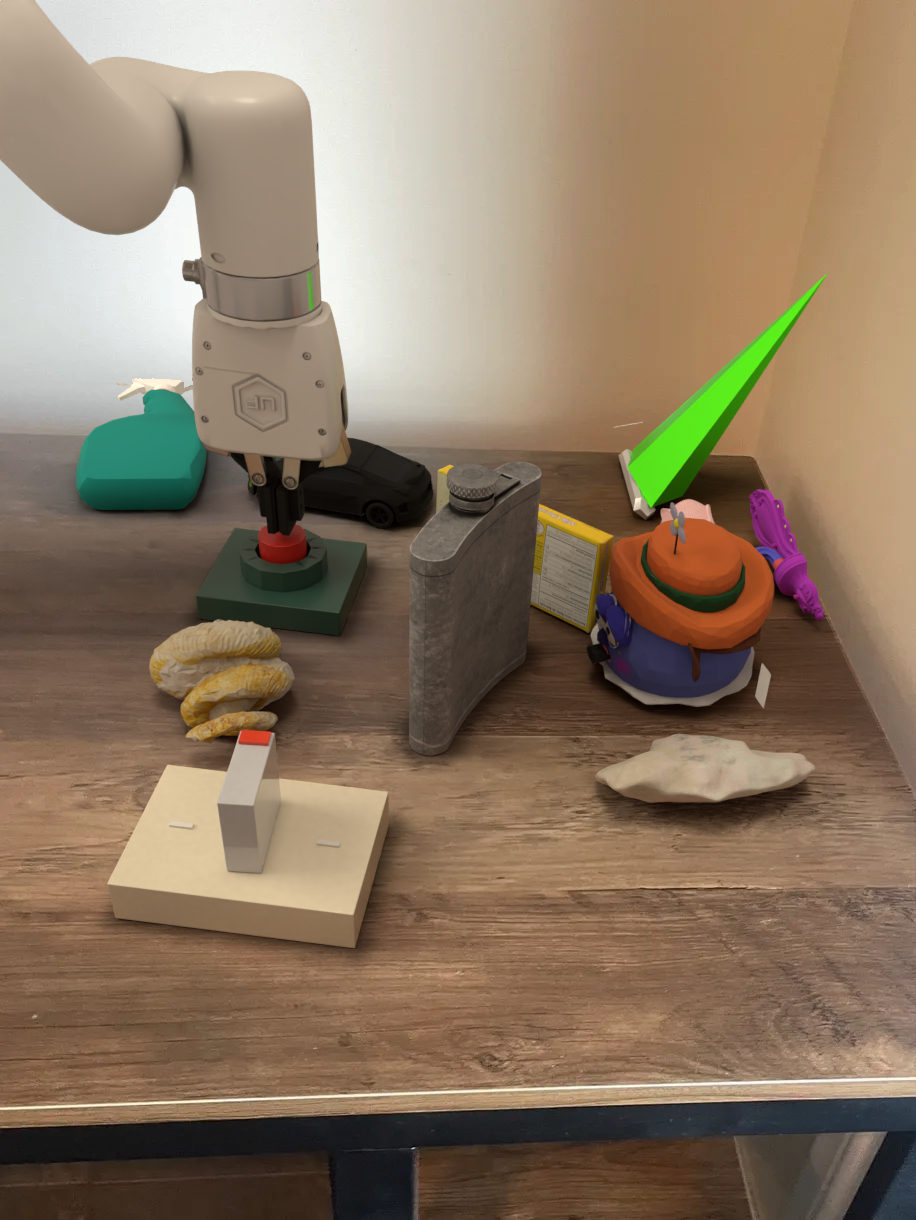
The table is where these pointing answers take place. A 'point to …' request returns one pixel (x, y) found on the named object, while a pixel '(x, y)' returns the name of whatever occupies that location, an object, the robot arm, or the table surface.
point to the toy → (683, 614)
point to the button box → (284, 585)
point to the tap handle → (249, 801)
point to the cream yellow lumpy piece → (222, 676)
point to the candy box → (562, 563)
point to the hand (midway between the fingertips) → (283, 525)
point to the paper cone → (701, 421)
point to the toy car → (368, 485)
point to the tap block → (292, 873)
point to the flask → (469, 596)
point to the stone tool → (703, 770)
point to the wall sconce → (769, 546)
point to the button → (282, 546)
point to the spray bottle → (144, 453)
